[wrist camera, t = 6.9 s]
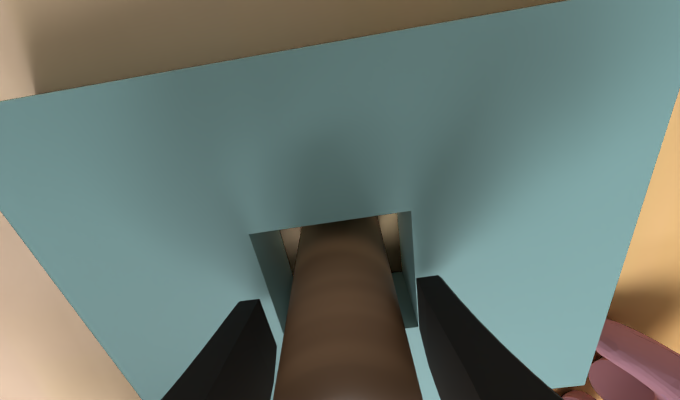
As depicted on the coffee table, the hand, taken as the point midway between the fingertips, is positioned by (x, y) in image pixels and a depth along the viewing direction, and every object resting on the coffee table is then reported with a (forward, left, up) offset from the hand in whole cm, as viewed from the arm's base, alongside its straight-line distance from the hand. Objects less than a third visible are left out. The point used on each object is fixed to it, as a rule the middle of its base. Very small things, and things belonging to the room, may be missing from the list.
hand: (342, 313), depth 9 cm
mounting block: (0, 0, -4) cm, 4 cm away
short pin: (0, 0, -4) cm, 4 cm away
